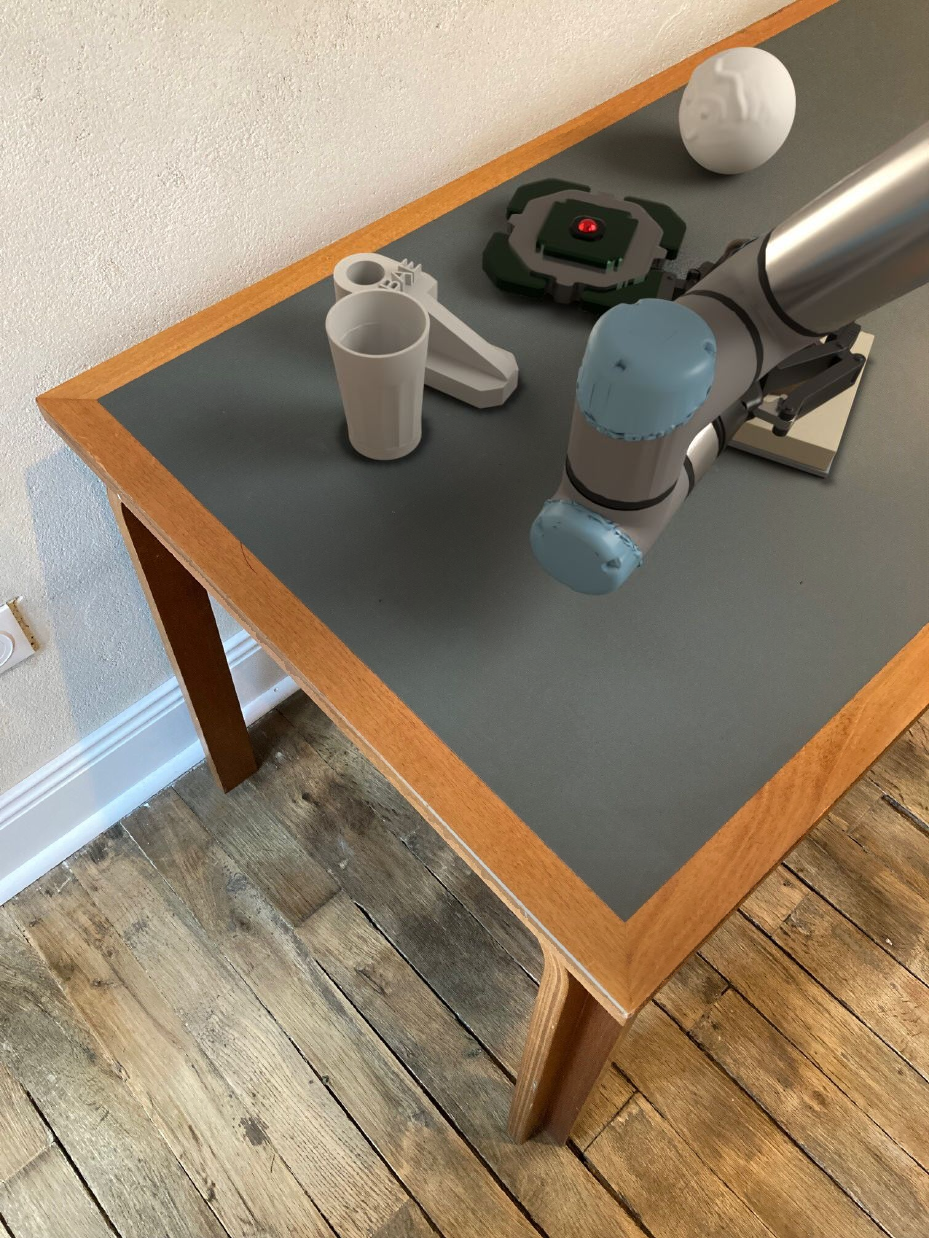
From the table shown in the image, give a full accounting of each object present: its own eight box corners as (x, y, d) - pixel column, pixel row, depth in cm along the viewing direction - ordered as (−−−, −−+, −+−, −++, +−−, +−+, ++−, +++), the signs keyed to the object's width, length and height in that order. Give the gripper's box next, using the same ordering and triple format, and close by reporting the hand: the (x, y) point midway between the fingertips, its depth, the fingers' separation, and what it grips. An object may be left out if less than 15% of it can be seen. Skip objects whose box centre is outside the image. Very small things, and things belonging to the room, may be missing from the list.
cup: (372, 388, 85) (364, 275, 75) (448, 422, 83) (449, 311, 73) (321, 443, 81) (304, 332, 71) (398, 480, 79) (392, 372, 69)
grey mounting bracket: (493, 414, 83) (498, 343, 77) (328, 340, 88) (319, 268, 81) (524, 377, 86) (532, 305, 79) (362, 307, 91) (356, 234, 84)
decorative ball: (648, 149, 107) (670, 37, 97) (736, 127, 110) (766, 16, 100) (706, 207, 101) (735, 95, 91) (797, 182, 104) (835, 70, 94)
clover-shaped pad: (524, 193, 102) (528, 152, 98) (688, 230, 99) (698, 190, 95) (470, 294, 92) (471, 253, 88) (648, 338, 89) (658, 298, 86)
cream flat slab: (865, 360, 88) (877, 334, 86) (825, 478, 80) (838, 454, 78) (678, 302, 92) (685, 277, 90) (622, 410, 84) (628, 385, 82)
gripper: (541, 401, 77) (668, 265, 87) (801, 532, 70) (906, 367, 80) (550, 328, 71) (686, 190, 81) (837, 464, 64) (946, 294, 74)
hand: (796, 278), depth 81 cm, fingers closed on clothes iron, 11 cm apart
